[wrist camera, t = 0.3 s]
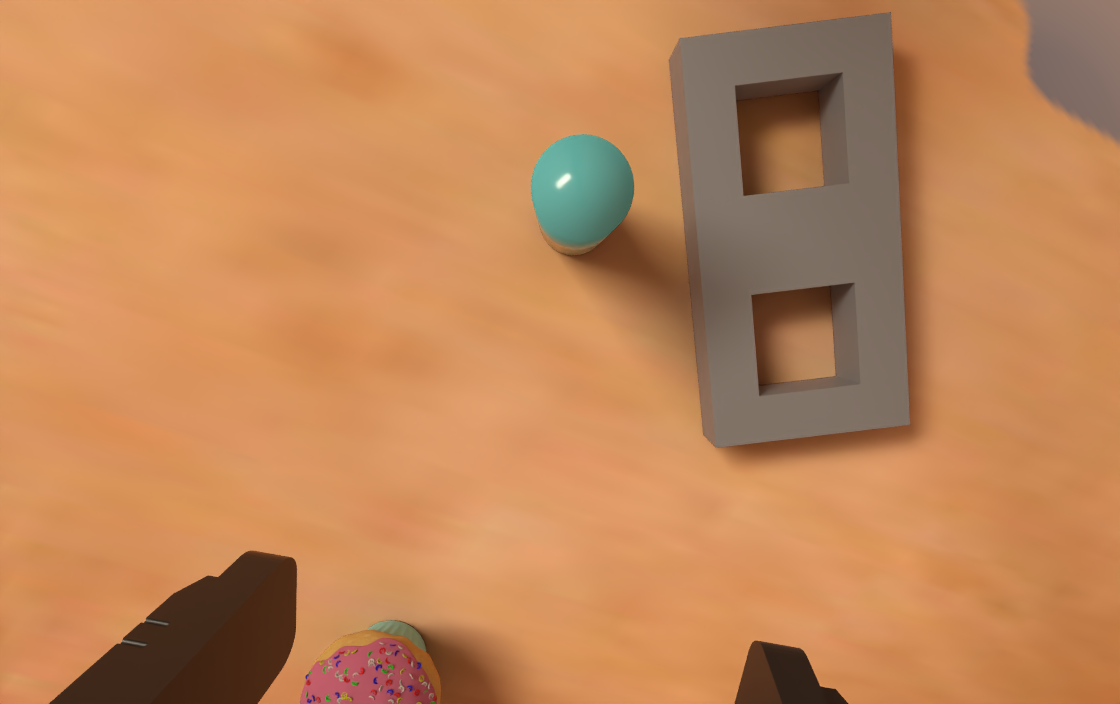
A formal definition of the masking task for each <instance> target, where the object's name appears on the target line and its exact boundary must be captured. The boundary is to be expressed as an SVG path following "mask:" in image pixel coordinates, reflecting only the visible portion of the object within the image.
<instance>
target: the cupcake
mask: <svg viewBox="0 0 1120 704" xmlns="http://www.w3.org/2000/svg"><path fill="white" fill-rule="evenodd" d="M440 699H441V682H440V677H439V674H438V672H437V670H436V668H435V666H434V664H433V661H432V659H431V657H430V656H429V654H428V653H426V647H425V643H424V641H423V639H422V637H421V636H420V634H419V633H418V632H417V631H416V630H415V629H414V628H413V627H411V626H410V625H408V624H406V623H403V622H400V621H392V620H390V621H383V622H379V623H377V624H374V625H373V626H371V627H370V628H368V629H367V630H364V631H361V632H358V633H353V634H349V635H346V636H343V637H341V638H339V639H338V640H336V641H335V642H334V643H333V644H332V645H331V646H330V647H328V648H327V649H326V650H325V652H324V653H323V654H322V655H321V656H320V657H319V658H318V659H317V660H316V661H315V662H314V664H313V666H312V668H311V670H310V672H309V674H307V675H306V682H305V685H304V688H303V691H302V694H301V700H300V704H440Z"/></svg>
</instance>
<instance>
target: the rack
mask: <svg viewBox="0 0 1120 704" xmlns="http://www.w3.org/2000/svg"><path fill="white" fill-rule="evenodd" d="M669 65H670V76H671V87H672V98H673V109H674V120H675V131H676V142H677V153H678V164H679V175H680V186H681V197H682V207H683V218H684V229H685V240H686V251H687V262H688V273H689V284H690V295H691V306H692V317H693V328H694V339H695V349H696V360H697V371H698V382H699V393H700V404H701V415H702V426H703V435H704V436H705V437H706V438H707V439H708V440H709V441H710V442H711V443H712V444H713V445H714V446H715V447H716V448H719V447H727V446H736V445H744V444H752V443H761V442H769V441H778V440H786V439H795V438H803V437H812V436H820V435H828V434H837V433H845V432H854V431H862V430H871V429H879V428H888V427H896V426H904V425H910V413H909V391H908V370H907V348H906V326H905V305H904V283H903V262H902V240H901V218H900V197H899V175H898V154H897V132H896V111H895V89H894V67H893V46H892V24H891V12H890V13H881V14H873V15H865V16H857V17H849V18H841V19H833V20H825V21H817V22H809V23H800V24H792V25H784V26H776V27H768V28H760V29H752V30H744V31H736V32H728V33H719V34H711V35H703V36H695V37H687V38H680V39H679V41H678V43H677V45H676V47H675V49H674V51H673V53H672V55H671V57H670V59H669ZM810 91H818V94H819V110H820V126H821V142H822V158H823V175H824V186H822V187H814V188H805V189H797V190H789V191H781V192H772V193H764V194H756V195H748V196H743V183H742V171H741V158H740V145H739V132H738V120H737V107H736V101H737V100H745V99H753V98H761V97H769V96H778V95H786V94H794V93H802V92H810ZM822 286H830V288H831V304H832V320H833V336H834V353H835V369H836V376H835V377H826V378H818V379H809V380H801V381H793V382H784V383H776V384H768V385H759V386H758V374H757V361H756V348H755V336H754V323H753V310H752V298H751V295H755V294H763V293H772V292H780V291H788V290H797V289H805V288H813V287H822Z"/></svg>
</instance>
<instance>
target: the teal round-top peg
mask: <svg viewBox="0 0 1120 704" xmlns="http://www.w3.org/2000/svg"><path fill="white" fill-rule="evenodd" d="M531 195H532V201H533V204H534V208H535V212H536V215H537V219H538V223H539V226H540V230H541V233H542V235H543V237H544V239H545V241H546V242H547V243H548V244H549V245H550V246H551V247H552V248H553V249H554V250H556V251H558V252H560V253H562V254H566V255H582V254H585V253H587V252H589V251H591V250H593V249H594V248H595V247H596V246H598V245H599V244H600V243H601V242H602V241H603V240H604V239H605V238H606V237H607V236H608V235H609V234H610V233H611V232H612V231H613V230H614V229H615V228H616V227H617V226H618V225H619V224H620V223H621V222H622V221H623V219H624V218H625V217H626V215H627V213H628V211H629V209H630V207H631V204H632V200H633V195H634V180H633V174H632V171H631V168H630V166H629V163H628V161H627V160H626V158H625V157H624V155H623V154H622V153H621V151H620V150H619V149H618V148H616V147H615V146H614V145H613V144H611V143H610V142H608V141H606V140H605V139H602V138H600V137H597V136H593V135H584V134H582V135H573V136H569V137H566V138H563V139H561V140H559V141H557V142H555V143H554V144H553V145H551V146H550V147H549V148H548V149H547V150H546V151H545V152H544V153H543V154H542V155H541V157H540V159H539V160H538V162H537V164H536V166H535V168H534V171H533V175H532V180H531Z"/></svg>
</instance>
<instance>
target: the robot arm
mask: <svg viewBox="0 0 1120 704" xmlns="http://www.w3.org/2000/svg"><path fill="white" fill-rule="evenodd" d="M296 588H297V566H296V562H295V560H294V559H293V558H291V557H286V556H280V555H274V554H269V553H263V552H257V551H247V552H246V553H244V554H243V555H242V556H240V557H239V558H238V559H237V560H236V561H235V562H234V563H233V564H232V565H231V566H230V567H229V568H228V569H227V570H225V571H224V572H223V573H222V574H221V575H220V576H219V577H213V576H206V577H204V578H203V579H201V580H199V581H197V582H195V583H193V584H191V585H189V586H187V587H185V588H183V589H182V590H180V591H178V592H176V593H174V594H173V595H172V596H170V597H169V598H168V599H167V600H166V601H165V602H164V603H162V604H161V605H160V606H159V607H158V608H157V609H156V610H155V611H153V612H152V613H151V614H150V615H149V616H148V617H147V618H146V621H145V622H144V623H140V624H139V625H138V626H136V627H135V628H134V629H133V630H132V631H131V632H130V633H128V634H127V635H126V636H125V637H124V638H123V641H122V643H121V644H116V645H115V646H114V647H113V648H111V649H110V650H109V651H108V652H107V653H106V654H105V655H104V656H102V657H101V658H100V659H99V660H98V661H97V662H96V663H94V664H93V665H92V666H91V667H90V668H89V669H88V670H87V671H85V672H84V673H83V674H82V675H81V676H80V677H79V678H77V679H76V680H75V681H74V682H73V683H72V684H71V685H70V686H68V687H67V688H66V689H65V690H64V691H63V692H62V693H60V694H59V695H58V696H57V697H56V698H55V699H54V700H53V701H51V702H50V703H49V704H258V702H259V701H260V699H261V698H262V697H263V695H264V694H265V692H266V691H267V690H268V688H269V687H270V685H271V684H272V683H273V681H274V680H275V678H276V677H277V676H278V674H279V673H280V671H281V670H282V668H283V666H284V665H285V663H286V661H287V659H288V656H289V654H290V652H291V649H292V646H293V642H294V638H295V632H296ZM735 704H848V703H847V702H846V700H845V699H844V698H843V697H842V696H841V695H840V694H839V693H838V691H837V690H836V689H831V688H825V687H820V685H819V683H818V680H817V678H816V676H815V674H814V671H813V669H812V667H811V665H810V662H809V660H808V658H807V656H806V654H805V653H804V651H803V650H802V649H800V648H796V647H790V646H784V645H778V644H773V643H767V642H761V641H754V642H753V643H752V644H751V646H750V649H749V652H748V656H747V660H746V663H745V667H744V671H743V674H742V678H741V682H740V686H739V689H738V693H737V697H736V700H735Z"/></svg>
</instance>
